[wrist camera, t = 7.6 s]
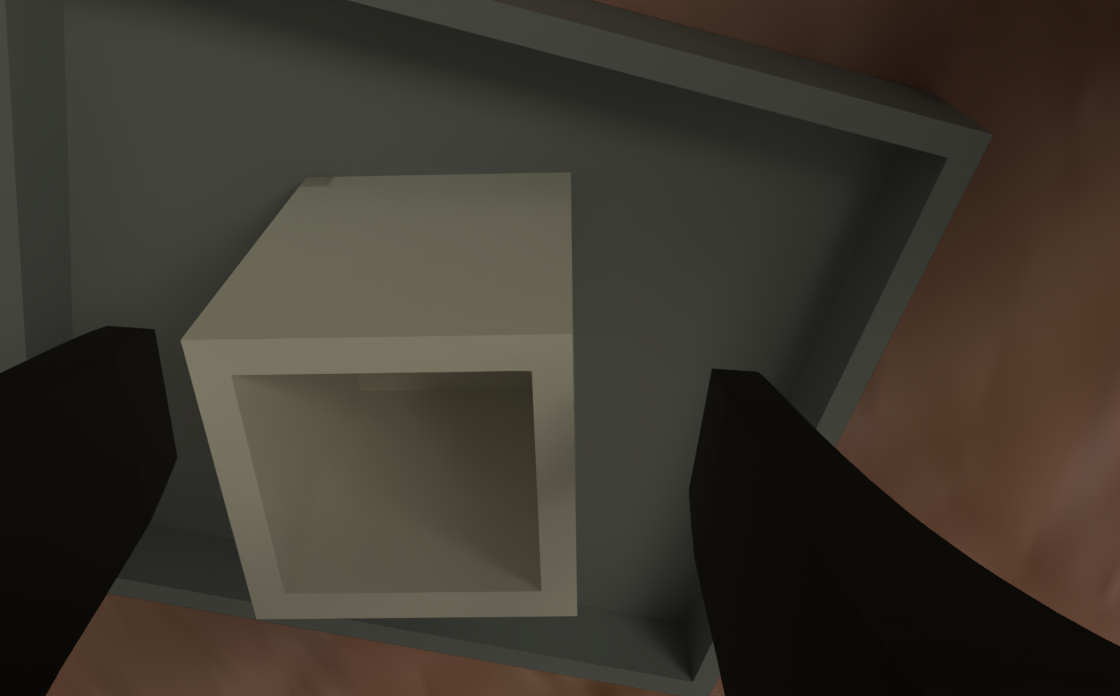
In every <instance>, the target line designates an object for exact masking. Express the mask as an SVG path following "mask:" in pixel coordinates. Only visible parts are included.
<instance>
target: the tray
mask: <svg viewBox="0 0 1120 696" xmlns="http://www.w3.org/2000/svg"><path fill="white" fill-rule="evenodd" d="M992 137H993V134H992V133H990V132H989V131H987V130H986V129H984V128H983V127H982V126H980V125H979V124H977V123H976V122H974V121H973V120H972V119H970V118H969V117H967V116H966V115H964V114H963V113H962V112H960V111H959V110H957V109H956V108H954V107H953V106H951V105H950V104H949V103H947V102H946V101H944V100H943V99H941V98H940V97H939V96H937V95H936V94H934V93H930V92H927V91H923V90H919V89H916V88H912V87H908V86H905V85H901V84H897V83H894V82H890V81H886V80H883V79H879V78H875V77H872V76H868V75H864V74H860V73H857V72H853V71H849V70H846V69H842V68H838V67H835V66H831V65H827V64H824V63H820V62H816V61H813V60H809V59H805V58H801V57H798V56H794V55H790V54H787V53H783V52H779V51H776V50H772V49H768V48H765V47H761V46H757V45H754V44H750V43H746V42H743V41H739V40H735V39H731V38H728V37H724V36H720V35H717V34H713V33H709V32H706V31H702V30H698V29H695V28H691V27H687V26H684V25H680V24H676V23H672V22H669V21H665V20H661V19H658V18H654V17H650V16H647V15H643V14H639V13H636V12H632V11H628V10H625V9H621V8H617V7H614V6H610V5H606V4H602V3H599V2H595V1H591V0H0V373H1V372H3V371H6V370H8V369H10V368H12V367H14V366H16V365H18V364H20V363H22V362H24V361H27V360H29V359H31V358H33V357H35V356H37V355H39V354H41V353H43V352H45V351H48V350H50V349H52V348H54V347H56V346H58V345H60V344H63V343H65V342H67V341H69V340H72V339H74V338H76V337H79V336H81V335H83V334H86V333H88V332H91V331H93V330H96V329H99V328H102V327H105V326H119V327H133V328H147V329H155V333H156V339H157V344H158V350H159V355H160V361H161V367H162V372H163V378H164V384H165V389H166V395H167V401H168V406H169V412H170V417H171V423H172V429H173V434H174V440H175V446H176V451H177V457H178V458H177V460H176V463H175V465H174V468H173V470H172V473H171V475H170V478H169V480H168V483H167V485H166V488H165V490H164V492H163V495H162V497H161V499H160V502H159V504H158V506H157V508H156V510H155V513H154V515H153V517H152V519H151V522H150V524H149V525H148V527H147V529H146V530H145V532H144V534H143V536H142V537H141V539H140V541H139V542H138V544H137V546H136V547H135V549H134V551H133V552H132V554H131V555H130V557H129V559H128V560H127V562H126V564H125V565H124V567H123V569H122V570H121V572H120V574H119V575H118V577H117V579H116V580H115V582H114V583H113V585H112V587H111V588H110V590H109V591H108V593H109V594H114V595H120V596H125V597H131V598H137V599H142V600H148V601H153V602H159V603H165V604H170V605H176V606H181V607H187V608H193V609H198V610H204V611H209V612H215V613H221V614H226V615H232V616H237V617H243V618H249V619H254V620H260V621H265V622H271V623H277V624H282V625H288V626H293V627H299V628H304V629H310V630H316V631H321V632H327V633H332V634H338V635H344V636H349V637H355V638H360V639H366V640H372V641H377V642H383V643H388V644H394V645H400V646H405V647H411V648H416V649H422V650H428V651H433V652H439V653H444V654H450V655H456V656H461V657H467V658H472V659H478V660H484V661H489V662H495V663H500V664H506V665H512V666H517V667H523V668H528V669H534V670H540V671H545V672H551V673H556V674H562V675H568V676H573V677H579V678H584V679H590V680H596V681H601V682H607V683H612V684H618V685H624V686H629V687H635V688H640V689H646V690H652V691H657V692H663V693H668V694H674V695H680V696H709V695H710V693H711V692H712V690H713V688H714V686H715V684H716V682H717V680H718V678H719V676H720V671H719V666H718V662H717V657H716V653H715V649H714V644H713V640H712V635H711V631H710V627H709V622H708V618H707V614H706V609H705V605H704V600H703V596H702V591H701V586H700V582H699V577H698V573H697V568H696V563H695V559H694V550H693V539H692V529H691V517H690V504H689V486H690V481H691V476H692V470H693V465H694V460H695V455H696V449H697V444H698V439H699V434H700V428H701V423H702V418H703V412H704V407H705V402H706V397H707V391H708V386H709V381H710V376H711V370H712V368H713V369H727V370H741V371H755V372H759V373H760V374H761V375H762V376H764V377H765V378H766V379H767V380H768V381H769V382H770V383H771V384H772V385H773V386H774V387H775V388H776V389H777V390H778V391H779V392H780V393H781V394H782V395H783V396H784V397H785V398H786V399H787V400H788V401H789V402H790V403H791V404H792V405H793V406H794V407H795V408H796V409H797V411H798V412H799V413H800V414H801V415H802V416H803V417H804V418H805V419H806V420H807V421H808V422H809V423H810V424H811V425H812V426H813V427H814V428H815V429H816V430H817V431H818V432H819V433H820V434H821V435H822V436H823V437H824V438H825V439H827V440H828V441H829V442H830V443H831V444H832V445H833V446H834V447H836V445H837V443H838V441H839V439H840V437H841V435H842V433H843V431H844V429H845V427H846V425H847V423H848V421H849V419H850V417H851V415H852V413H853V411H854V409H855V407H856V405H857V403H858V401H859V399H860V397H861V395H862V393H863V391H864V389H865V387H866V385H867V383H868V381H869V379H870V377H871V376H872V374H873V372H874V370H875V368H876V366H877V364H878V362H879V360H880V358H881V356H882V354H883V352H884V350H885V348H886V346H887V344H888V342H889V340H890V338H891V336H892V334H893V332H894V330H895V328H896V326H897V324H898V322H899V320H900V318H901V316H902V314H903V312H904V310H905V308H906V306H907V304H908V302H909V300H910V298H911V296H912V295H913V293H914V291H915V289H916V287H917V285H918V283H919V281H920V279H921V277H922V275H923V273H924V271H925V269H926V267H927V265H928V263H929V261H930V259H931V257H932V255H933V253H934V251H935V249H936V247H937V245H938V243H939V241H940V239H941V237H942V235H943V233H944V231H945V229H946V227H947V225H948V223H949V221H950V219H951V217H952V216H953V214H954V212H955V210H956V208H957V206H958V204H959V202H960V200H961V198H962V196H963V194H964V192H965V190H966V188H967V186H968V184H969V182H970V180H971V178H972V176H973V174H974V172H975V170H976V168H977V166H978V164H979V162H980V160H981V158H982V156H983V154H984V152H985V150H986V148H987V146H988V144H989V142H990V140H991V138H992ZM561 172H571V208H572V269H573V330H574V391H575V472H576V554H577V616H542V617H440V618H338V619H256V616H255V612H254V608H253V605H252V601H251V597H250V594H249V590H248V586H247V583H246V579H245V575H244V572H243V568H242V564H241V561H240V557H239V553H238V550H237V546H236V542H235V539H234V535H233V531H232V528H231V524H230V520H229V516H228V513H227V509H226V505H225V502H224V498H223V494H222V491H221V487H220V483H219V480H218V476H217V472H216V469H215V465H214V461H213V458H212V454H211V450H210V447H209V443H208V439H207V436H206V432H205V428H204V425H203V421H202V417H201V414H200V410H199V406H198V403H197V399H196V395H195V392H194V388H193V384H192V381H191V377H190V373H189V369H188V366H187V362H186V358H185V355H184V351H183V347H182V344H181V339H182V338H183V336H184V335H185V334H186V332H187V331H188V330H189V329H190V327H191V326H192V325H193V323H194V322H195V321H196V319H197V318H198V317H199V316H200V314H201V313H202V312H203V310H204V309H205V308H206V306H207V305H208V304H209V303H210V301H211V300H212V299H213V297H214V296H215V295H216V294H217V292H218V291H219V290H220V288H221V287H222V286H223V284H224V283H225V282H226V281H227V279H228V278H229V277H230V275H231V274H232V273H233V272H234V270H235V269H236V268H237V266H238V265H239V264H240V262H241V261H242V260H243V259H244V257H245V256H246V255H247V253H248V252H249V251H250V249H251V248H252V247H253V246H254V244H255V243H256V242H257V240H258V239H259V238H260V237H261V235H262V234H263V233H264V231H265V230H266V229H267V227H268V226H269V225H270V224H271V222H272V221H273V220H274V218H275V217H276V216H277V215H278V213H279V212H280V211H281V209H282V208H283V207H284V205H285V204H286V203H287V202H288V200H289V199H290V198H291V196H292V195H293V194H294V192H295V191H296V190H297V189H298V187H299V186H300V185H301V183H302V182H303V181H304V180H305V178H306V177H347V176H401V175H454V174H508V173H561Z"/></svg>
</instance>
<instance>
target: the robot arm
mask: <svg viewBox="0 0 1120 696" xmlns="http://www.w3.org/2000/svg"><path fill="white" fill-rule="evenodd" d="M177 458H178V457H177V451H176V446H175V440H174V434H173V429H172V423H171V417H170V412H169V406H168V401H167V395H166V389H165V384H164V378H163V372H162V367H161V361H160V355H159V350H158V344H157V339H156V333H155V329H147V328H133V327H119V326H105V327H102V328H99V329H96V330H93V331H91V332H88V333H86V334H83V335H81V336H79V337H76V338H74V339H72V340H69V341H67V342H65V343H63V344H60V345H58V346H56V347H54V348H52V349H50V350H48V351H45V352H43V353H41V354H39V355H37V356H35V357H33V358H31V359H29V360H27V361H24V362H22V363H20V364H18V365H16V366H14V367H12V368H10V369H8V370H6V371H3V372H1V373H0V696H46V694H47V693H48V691H49V689H50V687H51V685H52V684H53V682H54V680H55V678H56V676H57V675H58V673H59V671H60V669H61V667H62V666H63V664H64V663H65V661H66V659H67V658H68V656H69V655H70V653H71V651H72V650H73V648H74V646H75V645H76V643H77V642H78V640H79V638H80V637H81V635H82V633H83V632H84V630H85V629H86V627H87V625H88V624H89V622H90V621H91V619H92V617H93V616H94V614H95V612H96V611H97V609H98V608H99V606H100V604H101V603H102V601H103V600H104V598H105V596H106V595H107V593H108V591H109V590H110V588H111V587H112V585H113V583H114V582H115V580H116V579H117V577H118V575H119V574H120V572H121V570H122V569H123V567H124V565H125V564H126V562H127V560H128V559H129V557H130V555H131V554H132V552H133V551H134V549H135V547H136V546H137V544H138V542H139V541H140V539H141V537H142V536H143V534H144V532H145V530H146V529H147V527H148V525H149V524H150V522H151V519H152V517H153V515H154V513H155V510H156V508H157V506H158V504H159V502H160V499H161V497H162V495H163V492H164V490H165V488H166V485H167V483H168V480H169V478H170V475H171V473H172V470H173V468H174V465H175V463H176V460H177ZM689 504H690V517H691V529H692V539H693V550H694V559H695V563H696V568H697V573H698V577H699V582H700V586H701V591H702V596H703V600H704V605H705V609H706V614H707V618H708V622H709V627H710V631H711V635H712V640H713V644H714V649H715V653H716V657H717V662H718V666H719V671H720V675H721V679H722V684H723V688H724V693H725V696H1120V646H1118V645H1116V644H1114V643H1112V642H1110V641H1108V640H1106V639H1104V638H1102V637H1100V636H1099V635H1097V634H1095V633H1093V632H1091V631H1089V630H1088V629H1086V628H1084V627H1082V626H1080V625H1079V624H1077V623H1075V622H1073V621H1071V620H1070V619H1068V618H1066V617H1064V616H1062V615H1061V614H1059V613H1057V612H1055V611H1054V610H1052V609H1050V608H1049V607H1047V606H1045V605H1044V604H1042V603H1041V602H1039V601H1037V600H1036V599H1034V598H1032V597H1031V596H1029V595H1027V594H1026V593H1024V592H1022V591H1021V590H1019V589H1018V588H1016V587H1014V586H1013V585H1011V584H1009V583H1008V582H1006V581H1004V580H1003V579H1001V578H1000V577H998V576H997V575H995V574H994V573H992V572H991V571H989V570H988V569H986V568H984V567H983V566H981V565H980V564H978V563H977V562H975V561H974V560H972V559H971V558H970V557H968V556H967V555H965V554H964V553H963V552H961V551H960V550H959V549H957V548H956V547H954V546H953V545H952V544H950V543H949V542H947V541H946V540H945V539H943V538H942V537H940V536H939V535H938V534H936V533H935V532H933V531H932V530H931V529H929V528H928V527H927V526H925V525H924V524H923V523H921V522H920V521H919V520H918V519H916V518H915V517H914V516H912V515H911V514H910V513H909V512H907V511H906V510H905V509H904V508H903V507H901V506H900V505H899V504H898V503H897V502H895V501H894V500H893V499H892V498H891V497H890V496H888V495H887V494H886V493H885V492H884V491H882V490H881V489H880V488H879V487H878V486H877V485H875V484H874V483H873V482H872V481H871V480H869V479H868V478H867V477H866V476H865V475H864V474H863V473H862V472H861V471H860V470H858V469H857V468H856V467H855V466H854V465H853V464H852V463H851V462H850V461H849V460H847V459H846V458H845V457H844V456H843V455H842V454H841V453H840V452H839V451H838V450H837V449H836V448H835V447H834V446H833V445H832V444H831V443H830V442H829V441H828V440H827V439H825V438H824V437H823V436H822V435H821V434H820V433H819V432H818V431H817V430H816V429H815V428H814V427H813V426H812V425H811V424H810V423H809V422H808V421H807V420H806V419H805V418H804V417H803V416H802V415H801V414H800V413H799V412H798V411H797V409H796V408H795V407H794V406H793V405H792V404H791V403H790V402H789V401H788V400H787V399H786V398H785V397H784V396H783V395H782V394H781V393H780V392H779V391H778V390H777V389H776V388H775V387H774V386H773V385H772V384H771V383H770V382H769V381H768V380H767V379H766V378H765V377H764V376H762V375H761V374H760V373H759V372H755V371H741V370H727V369H713V368H712V370H711V376H710V381H709V386H708V391H707V397H706V402H705V407H704V412H703V418H702V423H701V428H700V434H699V439H698V444H697V449H696V455H695V460H694V465H693V470H692V476H691V481H690V486H689Z"/></svg>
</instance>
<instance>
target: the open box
mask: <svg viewBox="0 0 1120 696" xmlns="http://www.w3.org/2000/svg"><path fill="white" fill-rule="evenodd" d="M181 344H182V347H183V351H184V355H185V358H186V362H187V366H188V369H189V373H190V377H191V381H192V384H193V388H194V392H195V395H196V399H197V403H198V406H199V410H200V414H201V417H202V421H203V425H204V428H205V432H206V436H207V439H208V443H209V447H210V450H211V454H212V458H213V461H214V465H215V469H216V472H217V476H218V480H219V483H220V487H221V491H222V494H223V498H224V502H225V505H226V509H227V513H228V516H229V520H230V524H231V528H232V531H233V535H234V539H235V542H236V546H237V550H238V553H239V557H240V561H241V564H242V568H243V572H244V575H245V579H246V583H247V586H248V590H249V594H250V597H251V601H252V605H253V608H254V612H255V616H256V619H338V618H440V617H542V616H577V554H576V472H575V391H574V330H573V269H572V208H571V172H561V173H508V174H454V175H401V176H347V177H306V178H305V180H304V181H303V182H302V183H301V185H300V186H299V187H298V189H297V190H296V191H295V192H294V194H293V195H292V196H291V198H290V199H289V200H288V202H287V203H286V204H285V205H284V207H283V208H282V209H281V211H280V212H279V213H278V215H277V216H276V217H275V218H274V220H273V221H272V222H271V224H270V225H269V226H268V227H267V229H266V230H265V231H264V233H263V234H262V235H261V237H260V238H259V239H258V240H257V242H256V243H255V244H254V246H253V247H252V248H251V249H250V251H249V252H248V253H247V255H246V256H245V257H244V259H243V260H242V261H241V262H240V264H239V265H238V266H237V268H236V269H235V270H234V272H233V273H232V274H231V275H230V277H229V278H228V279H227V281H226V282H225V283H224V284H223V286H222V287H221V288H220V290H219V291H218V292H217V294H216V295H215V296H214V297H213V299H212V300H211V301H210V303H209V304H208V305H207V306H206V308H205V309H204V310H203V312H202V313H201V314H200V316H199V317H198V318H197V319H196V321H195V322H194V323H193V325H192V326H191V327H190V329H189V330H188V331H187V332H186V334H185V335H184V336H183V338H182V339H181Z"/></svg>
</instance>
